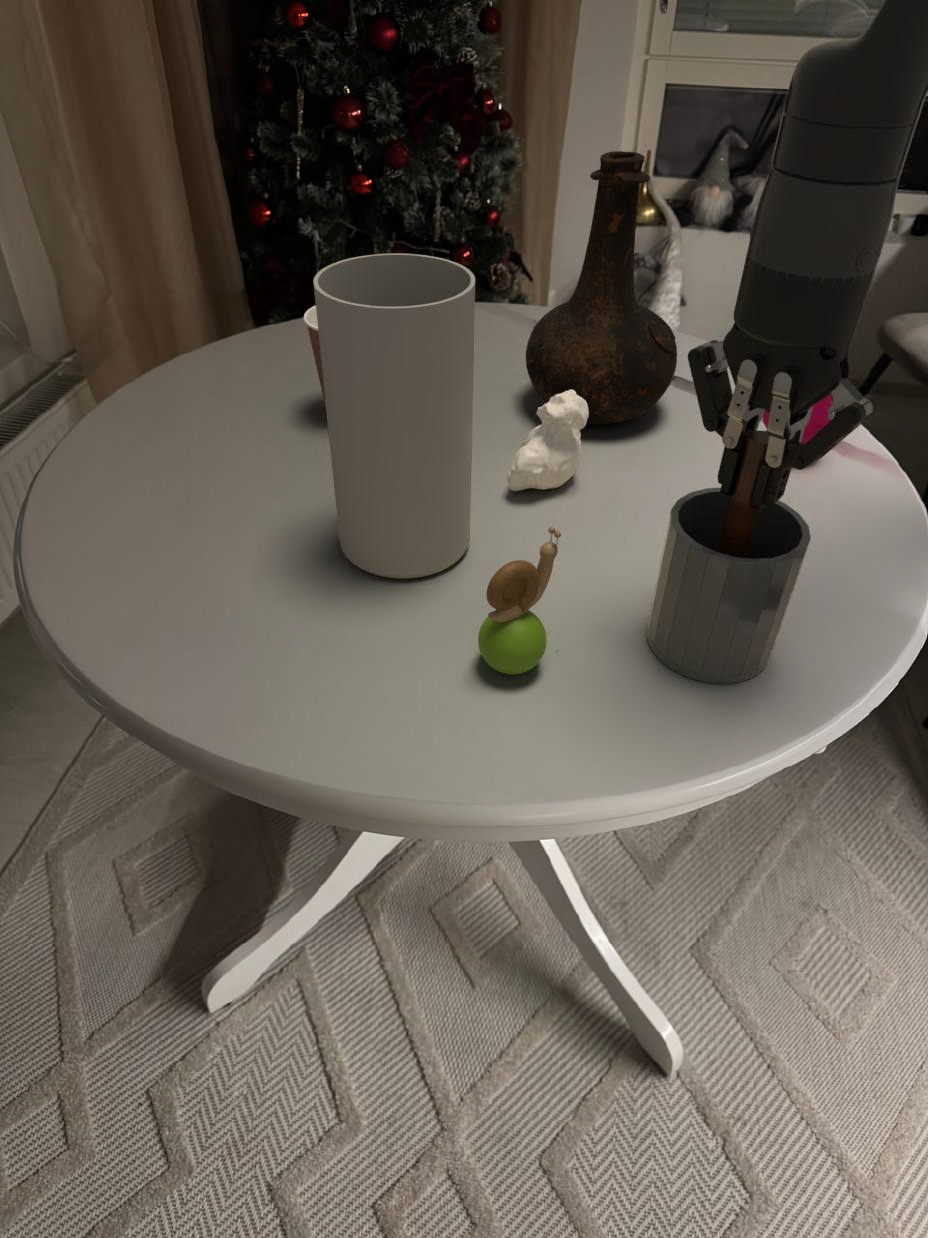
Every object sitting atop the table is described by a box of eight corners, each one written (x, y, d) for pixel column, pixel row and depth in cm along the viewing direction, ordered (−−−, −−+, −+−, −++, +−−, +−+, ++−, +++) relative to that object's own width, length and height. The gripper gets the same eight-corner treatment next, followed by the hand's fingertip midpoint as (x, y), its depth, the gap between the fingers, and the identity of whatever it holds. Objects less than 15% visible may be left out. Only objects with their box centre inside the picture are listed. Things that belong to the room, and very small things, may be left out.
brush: (708, 589, 72) (753, 416, 61) (753, 614, 69) (807, 438, 59) (677, 611, 69) (718, 435, 59) (722, 637, 67) (773, 459, 56)
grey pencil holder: (693, 589, 77) (721, 473, 69) (793, 645, 71) (836, 526, 63) (622, 638, 71) (643, 519, 64) (723, 703, 66) (761, 581, 58)
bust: (520, 523, 88) (589, 466, 80) (472, 468, 88) (536, 405, 79) (570, 473, 96) (638, 417, 88) (526, 423, 96) (590, 361, 87)
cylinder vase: (496, 544, 82) (508, 280, 65) (398, 600, 75) (385, 321, 59) (410, 494, 88) (402, 243, 72) (314, 541, 82) (281, 276, 65)
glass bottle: (632, 457, 95) (677, 185, 77) (495, 416, 102) (506, 158, 84) (688, 398, 107) (738, 150, 88) (561, 365, 114) (584, 129, 96)
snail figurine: (566, 666, 69) (582, 545, 61) (504, 698, 66) (512, 575, 58) (525, 630, 72) (535, 511, 64) (464, 659, 69) (466, 538, 61)
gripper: (953, 268, 49) (859, 518, 60) (748, 216, 57) (698, 446, 68) (892, 297, 45) (803, 559, 56) (681, 237, 53) (640, 478, 64)
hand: (746, 496), depth 62 cm, fingers closed on brush, 2 cm apart
